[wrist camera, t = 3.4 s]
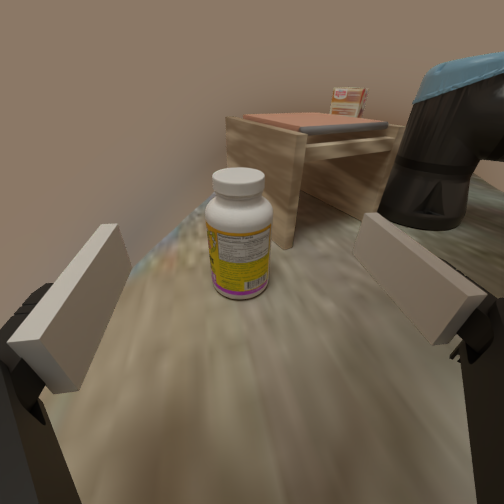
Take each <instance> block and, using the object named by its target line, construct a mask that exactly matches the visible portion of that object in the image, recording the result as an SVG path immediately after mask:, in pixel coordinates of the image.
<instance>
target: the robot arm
mask: <svg viewBox="0 0 504 504" xmlns="http://www.w3.org/2000/svg"><path fill="white" fill-rule="evenodd" d="M412 104H414V105H413V108H412V111H411V114H410V117H409V120H408V122H407V125H406V129H405V132H404V135H403V137H402V140H401V143H400V146H399V149H398V152H397V155H396V158H395V161H394V164H393V166H392V169H391V172H390V175H389V178H388V181H387V184H386V187H385V190H384V193H383V195H382V198H381V201H380V204H379V207H378V210H377V212H374V213H364V216H363V219H362V222H361V226H360V229H359V232H358V235H357V238H356V241H355V245H354V248H353V251H352V254H353V255H354V256H355V257H356V258H357V260H358V261H359V262H360V263H361V264H362V265H363V267H364V268H365V269H366V270H367V271H368V272H369V273H370V275H371V276H372V277H373V278H374V279H375V280H376V282H377V283H378V284H379V285H380V286H381V287H382V288H383V290H384V291H385V292H386V293H387V294H388V295H389V297H390V298H391V299H392V300H393V301H394V302H395V303H396V305H397V306H398V307H399V308H400V309H401V310H402V312H403V313H404V314H405V315H406V316H407V317H408V318H409V320H410V321H411V322H412V323H413V324H414V325H415V327H416V328H417V329H418V330H419V331H420V332H421V334H422V335H423V336H424V337H425V338H426V339H427V340H428V342H429V343H430V344H431V345H440V344H448V343H449V342H450V341H451V340H452V339H453V337H454V336H455V335H456V334H458V335H459V336H460V337H461V338H462V339H463V340H462V341H461V342H460V344H459V345H458V346H457V347H456V348H455V350H454V351H453V352H452V353H451V354H450V359H452V360H453V359H454V358H455V356H456V355H460V359H459V360H458V361H457V362H459V363H461V370H462V378H463V387H464V395H465V404H466V412H467V421H468V430H469V438H470V447H471V455H472V464H473V472H474V481H475V489H476V498H477V504H504V298H499V299H497V298H496V297H495V296H493V295H492V294H490V293H489V292H488V291H486V290H485V289H484V288H482V287H481V286H479V285H478V284H477V283H475V282H474V281H473V280H471V279H470V278H468V277H467V276H464V274H463V273H462V272H460V271H459V270H456V268H455V267H453V266H452V265H451V264H449V263H448V262H447V261H445V260H443V259H441V258H439V257H437V256H435V255H434V254H433V253H431V252H430V251H429V250H427V249H426V248H424V247H423V246H422V245H420V244H419V243H418V242H416V241H415V240H414V239H412V238H411V237H410V236H408V235H407V234H405V233H404V232H403V231H401V230H400V229H399V228H397V227H396V226H395V225H393V224H392V223H391V222H389V221H388V220H390V221H393V222H396V223H399V224H402V225H406V226H410V227H414V228H420V229H427V230H447V229H452V228H455V227H457V226H458V225H459V224H460V222H461V220H462V218H463V217H464V215H465V212H466V206H467V199H468V192H469V184H470V179H471V176H472V174H473V172H474V170H475V168H476V167H477V165H478V163H479V161H480V160H491V161H500V162H504V52H498V53H491V54H485V55H479V56H473V57H468V58H462V59H457V60H453V61H449V62H445V63H441V64H438V65H436V66H434V67H433V68H432V69H430V70H429V71H428V72H427V73H426V75H425V76H424V78H423V80H422V83H421V85H420V88H419V91H418V93H417V95H416V98H415V100H414V101H413V103H412ZM385 218H386V219H385ZM387 219H388V220H387ZM131 270H132V265H131V262H130V259H129V256H128V253H127V250H126V247H125V244H124V241H123V238H122V235H121V232H120V229H119V226H118V224H101V225H100V226H99V228H98V229H97V230H96V232H95V233H94V234H93V235H92V237H91V238H90V239H89V240H88V241H87V243H86V244H85V245H84V247H83V248H82V249H81V250H80V252H79V253H78V254H77V255H76V256H75V258H74V259H73V260H72V262H71V263H70V264H69V265H68V267H67V268H66V269H65V270H64V271H63V273H62V274H61V275H60V276H59V278H58V279H57V280H56V281H55V283H46V284H45V285H43V286H42V287H40V288H39V289H37V290H36V291H35V292H33V293H32V294H31V295H30V296H29V298H28V299H26V301H25V302H24V303H23V304H22V307H20V308H19V309H18V310H17V311H16V312H15V313H14V316H12V317H11V318H10V319H9V320H8V321H7V322H6V324H5V325H4V326H3V327H2V328H1V329H0V504H82V503H81V500H80V498H79V495H78V493H77V490H76V487H75V485H74V482H73V480H72V477H71V474H70V472H69V469H68V467H67V464H66V461H65V459H64V456H63V454H62V451H61V448H60V446H59V443H58V440H57V438H56V435H55V433H54V430H53V427H52V425H51V422H50V420H49V417H48V414H47V412H46V409H45V407H44V404H43V402H42V401H41V400H40V399H39V398H38V397H39V395H40V394H41V392H42V390H43V388H44V386H45V385H46V387H47V388H48V389H49V390H50V391H51V392H52V393H53V394H60V393H67V392H75V391H79V390H80V388H81V385H82V383H83V381H84V378H85V376H86V374H87V371H88V369H89V367H90V364H91V362H92V360H93V358H94V355H95V353H96V351H97V348H98V346H99V344H100V341H101V339H102V337H103V334H104V332H105V330H106V328H107V325H108V323H109V321H110V318H111V316H112V314H113V311H114V309H115V307H116V304H117V302H118V300H119V297H120V295H121V293H122V291H123V288H124V286H125V284H126V281H127V279H128V277H129V274H130V272H131Z"/></svg>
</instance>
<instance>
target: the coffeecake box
mask: <svg viewBox="0 0 504 504" xmlns="http://www.w3.org/2000/svg"><path fill="white" fill-rule="evenodd" d="M368 92H369V89H366V88H354V87H350V88H334V91H333V98H332V103H331V108H330V114H333V115H340V116H348V117H355V118H362V116H363V111H364V108H365V104H366V100H367V96H368Z"/></svg>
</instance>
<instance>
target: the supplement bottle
mask: <svg viewBox="0 0 504 504" xmlns="http://www.w3.org/2000/svg"><path fill="white" fill-rule="evenodd" d="M212 179H213V189H214V190H215V193H216V197H215V198H213V199H212V200H211V201H210V202H209V203H208V205H207V207H206V210H205V217H206V227H207V236H208V245H209V253H210V264H211V273H212V280H213V284H214V287H215V288H216V290H217V291H218V292H219V293H220V294H222V295H224V296H226V297H228V298H231V299H248V298H252V297H254V296H257V295H258V294H260V293H261V292H262V291H263V290H264V289H265V288H266V286H267V284H268V279H269V266H270V251H271V237H272V223H273V208H272V205H271V204H270V202H269V201H268V200H267V199H266V198H264V197H263V196H262V193H263V190H264V188H265V175H264V173H263V172H261V171H259V170H257V169H252V168H245V167H236V168H225V169H221V170H218V171H216V172H214V173H213V176H212Z"/></svg>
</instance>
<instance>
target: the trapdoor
mask: <svg viewBox="0 0 504 504" xmlns="http://www.w3.org/2000/svg"><path fill="white" fill-rule="evenodd" d="M243 119H246V120H250V121H254V122H258V123H263V124H267V125H271V126H275V127H279V128H283V129H288V130H292V131H296V132H300V133H304V134H308V135H307V136H311V135H323V134H335V133H348V132H360V131H372V130H385V129H387V128H388V125H389V124H388V122H386V121H378V120H370V119H363V118H355V117H348V116H340V115H333V114H325V113H317V112H310V113H309V112H308V113H280V114H279V113H278V114H277V113H276V114H247V115H246V114H245V115H243Z"/></svg>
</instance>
